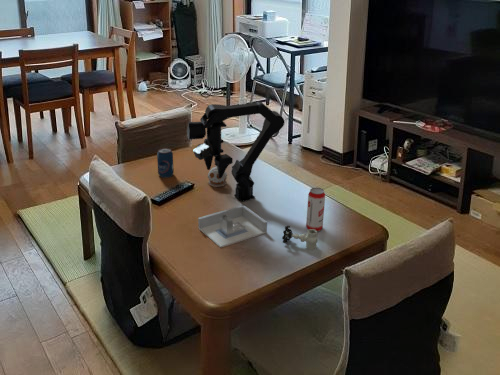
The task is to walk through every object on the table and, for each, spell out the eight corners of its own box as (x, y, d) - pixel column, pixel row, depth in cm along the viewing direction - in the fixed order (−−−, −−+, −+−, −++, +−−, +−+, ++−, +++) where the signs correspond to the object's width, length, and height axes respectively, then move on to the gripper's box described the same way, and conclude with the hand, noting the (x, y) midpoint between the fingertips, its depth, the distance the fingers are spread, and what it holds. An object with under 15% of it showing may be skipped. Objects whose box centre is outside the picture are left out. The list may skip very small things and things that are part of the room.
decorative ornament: (206, 186, 249) (205, 154, 242) (211, 179, 255) (210, 147, 249) (223, 188, 247) (223, 156, 241) (228, 181, 254) (228, 149, 247)
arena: (243, 215, 226) (243, 204, 224) (266, 232, 214) (267, 221, 212) (198, 228, 216) (198, 217, 214) (220, 247, 204) (220, 236, 202)
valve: (319, 244, 207) (287, 237, 211) (320, 228, 204) (288, 221, 208) (314, 253, 202) (281, 246, 206) (315, 237, 199) (282, 230, 203)
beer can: (324, 226, 219) (327, 188, 212) (320, 234, 214) (323, 195, 207) (308, 223, 221) (310, 185, 214) (304, 231, 215) (306, 192, 208)
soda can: (156, 177, 256) (154, 152, 251) (160, 171, 262) (159, 146, 257) (171, 178, 255) (170, 153, 250) (175, 172, 261) (174, 147, 256)
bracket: (226, 236, 210) (226, 221, 207) (219, 230, 213) (219, 216, 211) (245, 230, 214) (245, 216, 211) (237, 224, 217) (238, 210, 215)
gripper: (184, 133, 228) (185, 169, 235) (207, 148, 214) (208, 186, 221) (208, 128, 233) (209, 164, 240) (233, 143, 220) (233, 180, 226)
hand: (214, 173), depth 232 cm, fingers open, 9 cm apart
